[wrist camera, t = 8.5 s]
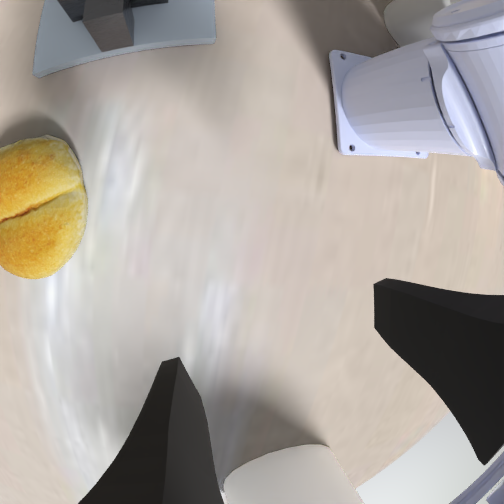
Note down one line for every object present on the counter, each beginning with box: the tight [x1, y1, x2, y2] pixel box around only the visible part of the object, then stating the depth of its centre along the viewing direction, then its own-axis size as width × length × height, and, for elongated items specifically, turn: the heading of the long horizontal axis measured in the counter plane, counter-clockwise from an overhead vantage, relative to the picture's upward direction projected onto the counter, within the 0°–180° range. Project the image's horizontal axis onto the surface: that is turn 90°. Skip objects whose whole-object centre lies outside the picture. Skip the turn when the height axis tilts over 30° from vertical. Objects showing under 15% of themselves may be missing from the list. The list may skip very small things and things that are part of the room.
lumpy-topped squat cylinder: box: [384, 0, 461, 47], centre depth 13 cm, size 10×13×9 cm
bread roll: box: [0, 134, 88, 279], centre depth 13 cm, size 8×9×4 cm
